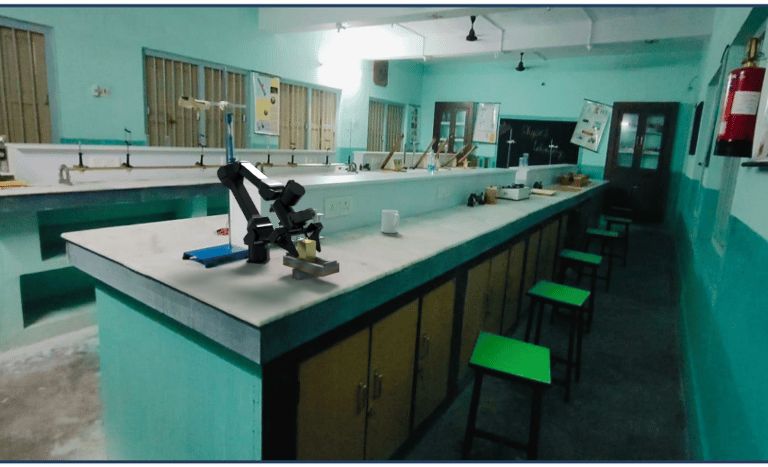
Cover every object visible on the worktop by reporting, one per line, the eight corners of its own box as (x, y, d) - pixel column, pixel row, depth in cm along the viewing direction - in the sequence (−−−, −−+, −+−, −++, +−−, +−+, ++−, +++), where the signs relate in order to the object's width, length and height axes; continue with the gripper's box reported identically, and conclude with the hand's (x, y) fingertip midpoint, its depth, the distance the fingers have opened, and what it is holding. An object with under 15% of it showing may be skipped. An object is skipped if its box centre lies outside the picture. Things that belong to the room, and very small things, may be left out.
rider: (297, 262, 141) (297, 240, 140) (307, 260, 145) (307, 239, 143) (305, 264, 139) (305, 243, 138) (315, 262, 142) (315, 241, 141)
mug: (378, 230, 221) (379, 209, 219) (392, 229, 225) (393, 209, 222) (390, 235, 210) (391, 213, 208) (404, 234, 214) (405, 213, 212)
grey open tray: (281, 274, 143) (281, 253, 142) (302, 268, 150) (302, 248, 149) (319, 287, 133) (320, 264, 131) (340, 280, 140) (341, 259, 138)
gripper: (274, 202, 133) (299, 244, 129) (320, 197, 147) (343, 235, 143) (258, 223, 139) (281, 265, 135) (303, 217, 154) (325, 254, 149)
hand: (309, 254), depth 140 cm, fingers open, 9 cm apart
